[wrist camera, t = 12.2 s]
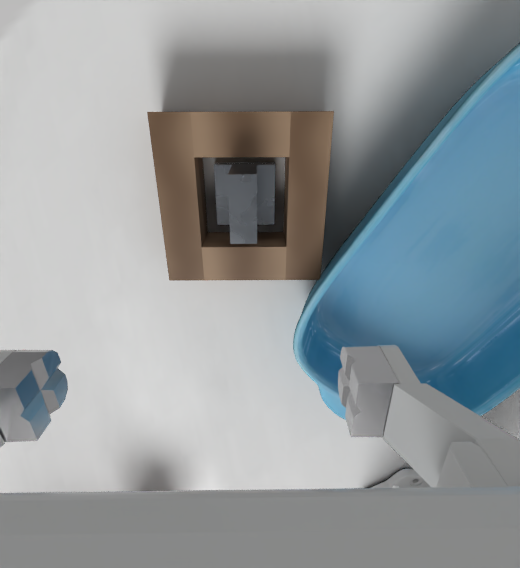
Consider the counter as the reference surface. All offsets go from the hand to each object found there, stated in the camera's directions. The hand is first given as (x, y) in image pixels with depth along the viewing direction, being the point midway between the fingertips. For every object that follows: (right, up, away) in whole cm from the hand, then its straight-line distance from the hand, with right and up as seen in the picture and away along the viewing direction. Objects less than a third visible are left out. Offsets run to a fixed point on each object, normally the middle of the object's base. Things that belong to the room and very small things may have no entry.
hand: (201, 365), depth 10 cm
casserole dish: (+20, +6, +23) cm, 31 cm away
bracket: (0, +11, +21) cm, 23 cm away
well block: (0, +10, +21) cm, 23 cm away
